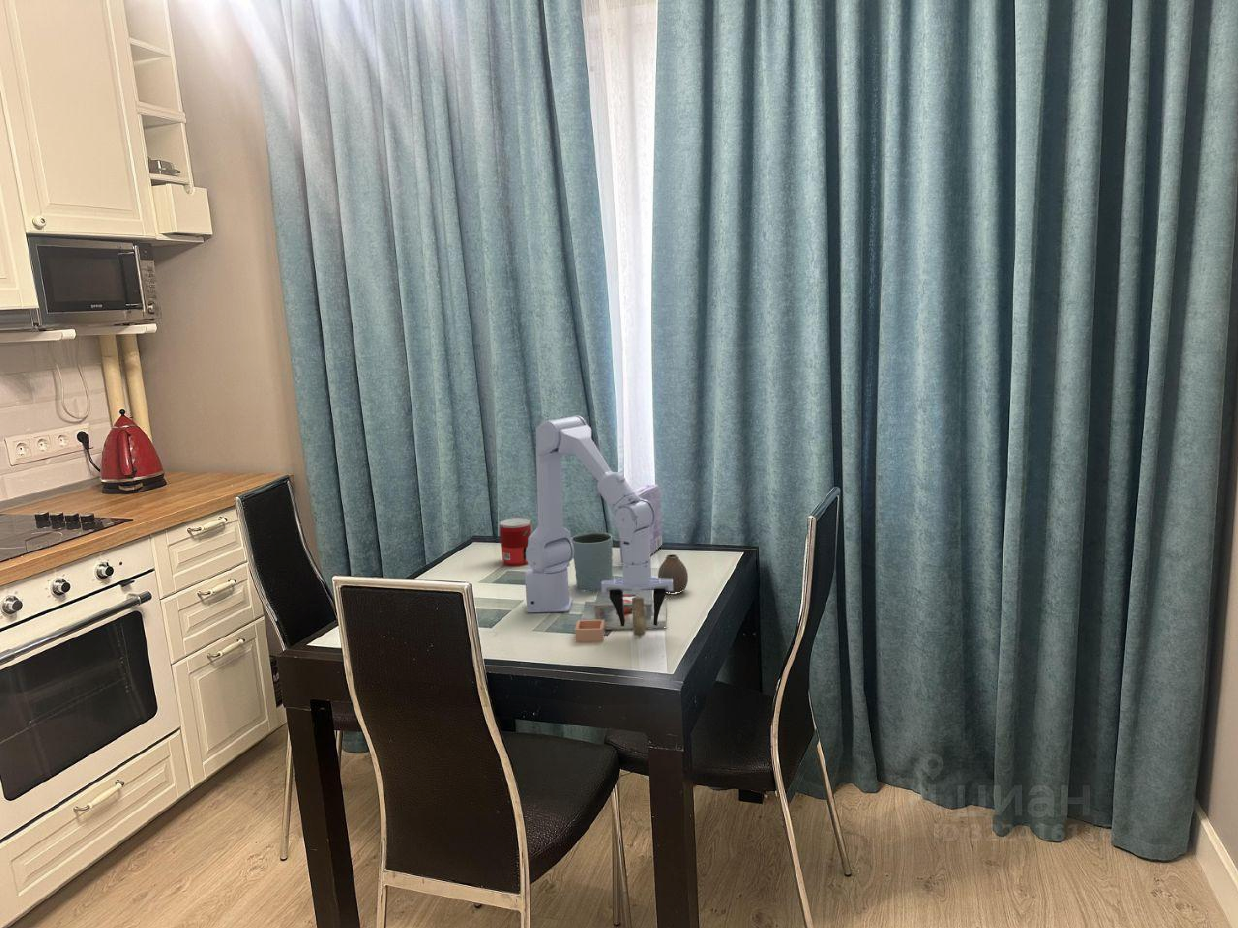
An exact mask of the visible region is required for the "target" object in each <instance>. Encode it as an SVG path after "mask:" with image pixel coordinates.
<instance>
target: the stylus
mask: <svg viewBox="0 0 1238 928" xmlns="http://www.w3.org/2000/svg"><path fill="white" fill-rule="evenodd" d="M631 598H632V599H631V601H632V607H633V629H632V631H633V635H634V636H639V637H640V636H644V635H646V629H645V613H644V598H643V597H631Z"/></svg>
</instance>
